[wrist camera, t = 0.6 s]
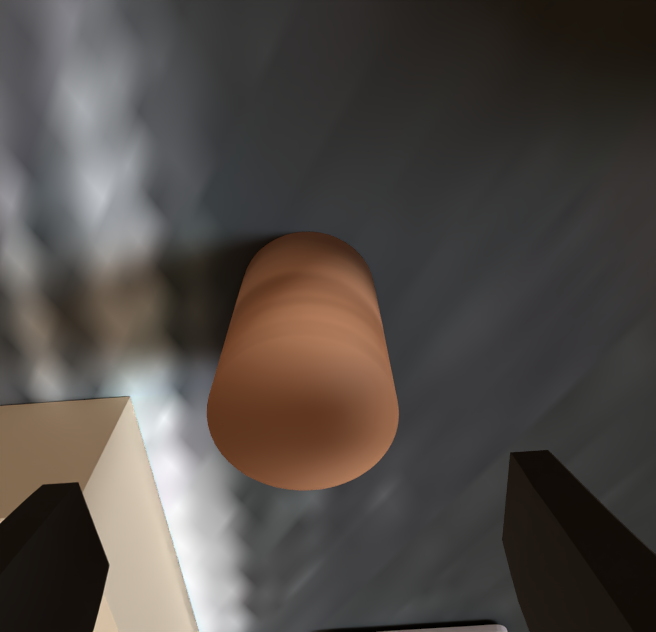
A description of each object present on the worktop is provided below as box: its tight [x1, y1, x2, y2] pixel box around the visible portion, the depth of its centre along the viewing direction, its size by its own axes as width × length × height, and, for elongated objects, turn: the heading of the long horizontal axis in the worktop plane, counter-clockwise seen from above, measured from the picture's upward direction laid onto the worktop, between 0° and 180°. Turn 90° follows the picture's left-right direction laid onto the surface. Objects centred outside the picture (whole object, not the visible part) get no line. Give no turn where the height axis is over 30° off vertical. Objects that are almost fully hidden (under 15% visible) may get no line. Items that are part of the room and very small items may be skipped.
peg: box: [207, 232, 399, 490], centre depth 15 cm, size 4×4×6 cm
